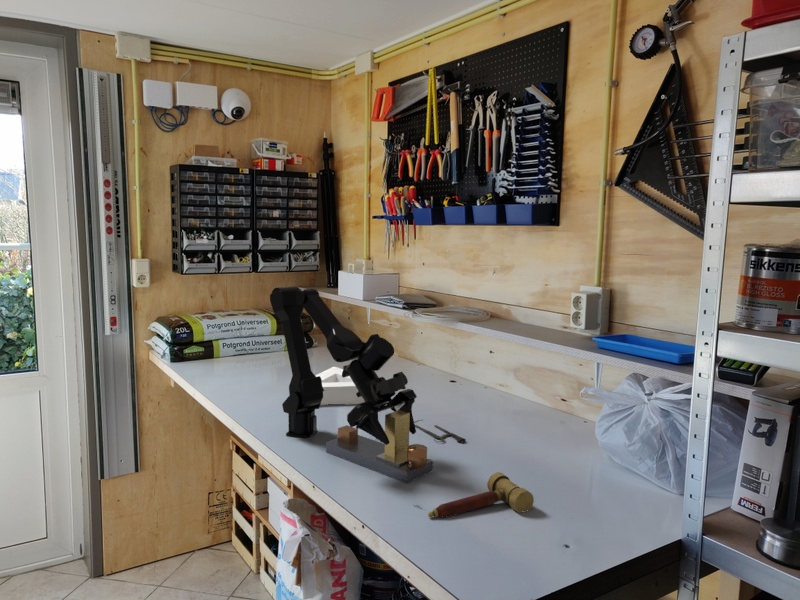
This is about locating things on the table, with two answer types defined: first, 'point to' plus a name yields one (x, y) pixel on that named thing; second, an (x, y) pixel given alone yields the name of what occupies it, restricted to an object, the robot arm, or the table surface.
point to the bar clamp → (459, 439)
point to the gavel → (489, 498)
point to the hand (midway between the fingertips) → (401, 438)
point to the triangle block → (338, 388)
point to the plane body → (379, 455)
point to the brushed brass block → (397, 434)
